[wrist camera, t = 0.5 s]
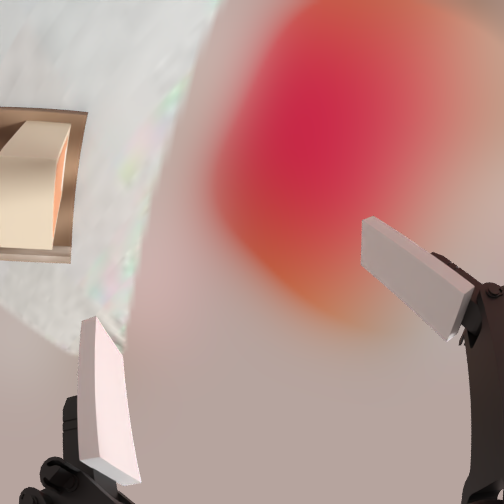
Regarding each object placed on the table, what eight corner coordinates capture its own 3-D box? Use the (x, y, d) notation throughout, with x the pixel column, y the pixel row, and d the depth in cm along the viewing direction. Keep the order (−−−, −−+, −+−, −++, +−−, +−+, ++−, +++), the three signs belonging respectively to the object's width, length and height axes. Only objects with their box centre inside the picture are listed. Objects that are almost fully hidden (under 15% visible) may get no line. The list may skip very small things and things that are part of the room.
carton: (26, 120, 22) (-4, 155, 15) (72, 123, 25) (57, 159, 18) (21, 191, 26) (0, 247, 19) (62, 194, 29) (52, 249, 22)
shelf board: (-41, 107, 18) (-54, 116, 15) (88, 112, 26) (85, 120, 24) (-35, 241, 26) (-43, 259, 24) (71, 247, 35) (70, 264, 32)
